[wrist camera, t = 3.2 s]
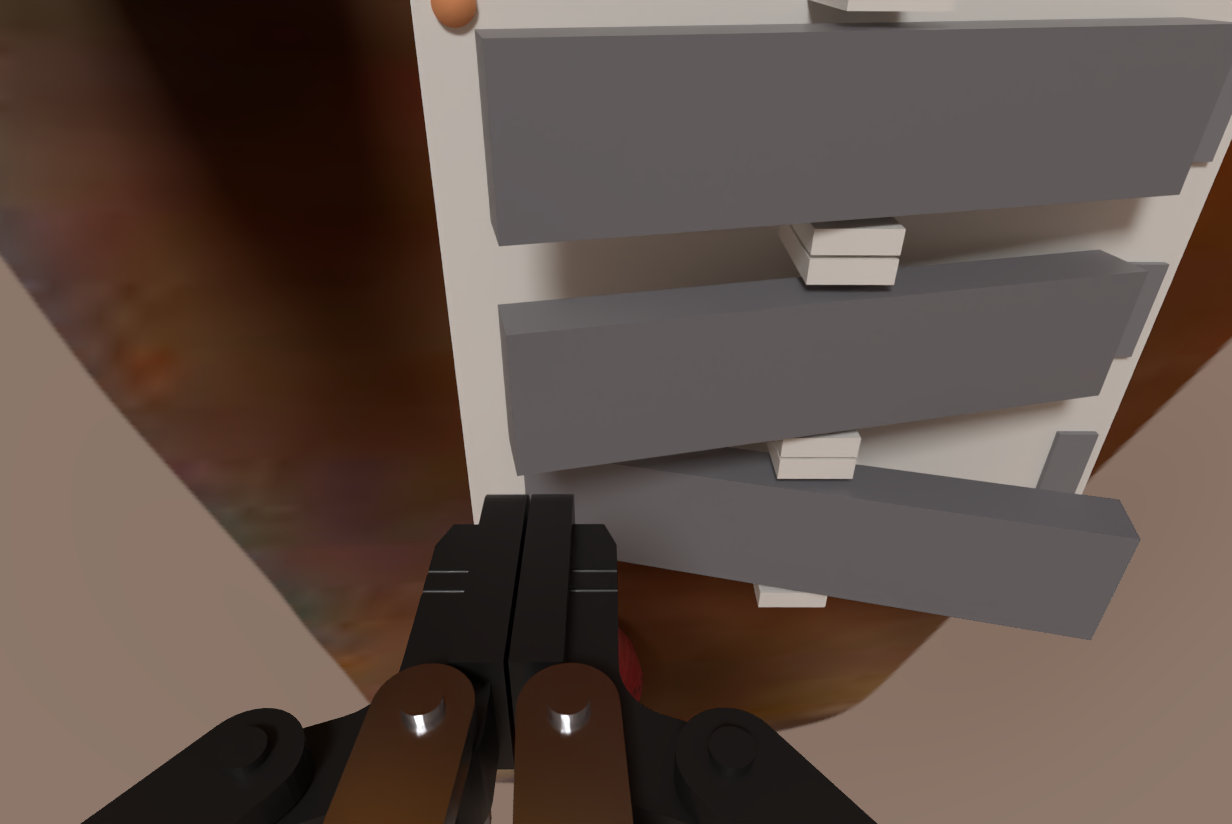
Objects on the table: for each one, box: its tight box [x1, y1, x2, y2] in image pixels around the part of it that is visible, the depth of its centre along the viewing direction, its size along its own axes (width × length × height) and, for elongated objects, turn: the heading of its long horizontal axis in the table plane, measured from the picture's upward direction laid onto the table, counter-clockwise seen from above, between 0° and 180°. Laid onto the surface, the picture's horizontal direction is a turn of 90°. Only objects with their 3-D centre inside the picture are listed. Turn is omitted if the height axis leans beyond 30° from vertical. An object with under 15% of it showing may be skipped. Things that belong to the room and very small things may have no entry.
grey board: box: [524, 447, 1140, 640], centre depth 22 cm, size 4×16×2 cm, turn 90°
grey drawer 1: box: [474, 17, 1232, 246], centre depth 16 cm, size 4×16×2 cm, turn 90°
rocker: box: [498, 249, 1149, 476], centre depth 19 cm, size 4×16×2 cm, turn 90°
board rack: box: [410, 0, 1232, 607], centre depth 22 cm, size 18×20×8 cm
